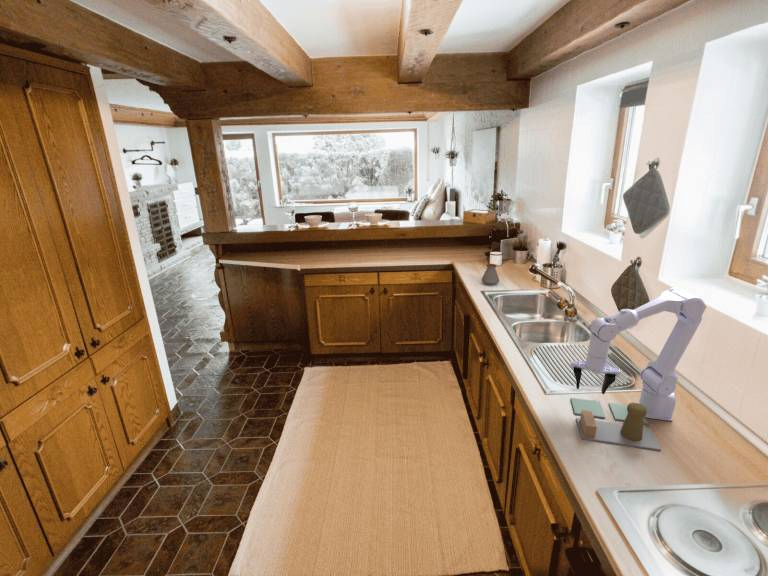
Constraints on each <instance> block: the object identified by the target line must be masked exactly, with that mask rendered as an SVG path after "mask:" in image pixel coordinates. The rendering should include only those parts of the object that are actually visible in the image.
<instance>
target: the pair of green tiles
mask: <svg viewBox="0 0 768 576" xmlns="http://www.w3.org/2000/svg"><path fill="white" fill-rule="evenodd" d="M570 401H571V405H572V410H573V412H574V413H573V414H574V415H576V416H581V412H582V410H586V411H592V414H593V417H594V418H597V419H606V418H607V417H606V414H605V412H604V409H603V407H602V403H601V401H600V400H599V401H598V400H590V399H584V398H575V397H571V398H570ZM608 405H609V408H610V411H611V413H612V416H613V418H614V421H618V422H619V421H620V422H624V421H625V419H626V416H627V414H628V412H627V406H628V405H629V404H622V403H614V402H608ZM643 425H648V422H647V418H646V417H643Z"/></svg>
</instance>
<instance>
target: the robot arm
mask: <svg viewBox="0 0 768 576" xmlns="http://www.w3.org/2000/svg"><path fill="white" fill-rule="evenodd" d="M706 309H707V305H706V304H705V301H704V300H703V299H702V298H701V297H698V296H696V295H693V294H691V293H689V292H687V291H685V290H683V289H682V288H680V287H671V288H669V289H667V290H665V291H663V292H662V293H661V295H660V296H658V297H656V298H654V299H652V300H650V301H649V302H646V303H644V304H642V305H641V306H638V307H636V308H634V309H629V308H623V309H620V310H619V311H618V312H616V313H613V314H611V315H607V316H605V317H597V318H595V319H593V320H592V321H591V323H590V324H588V330H589V332H590V340H589V344H588V349H587V354H586V355H587V356H586V360H585V361H583V360H570V362H569V367H570V369H573V370H572V371H573V375H574V378H575V381H576V385H575V386H576V389H577V390H579V389H580V383H581V378H582V370H583V371H588V372H591V373H592V374H595V375H600V374H604V376H603V377H604V378H603V382H602V385H601V394H602V395H605V394H606V391H607V390H608V389H609V388H610V386H611V385H612V384H613V383H614V382H616V378H620V375H621V369H620V368H616V367H612V366H610V365H608V364H607V361H608V355H609V350H610V345H611V342H612V341H613V340H614V339H616V337H617V335H619V334H620V333H621V332H623V331H626V330H628V329H631V328H633V327H635V326H637V325H638V323H639V321H640V320H642V319H646V318H648V317H651V316H655V315H658V314H661V313H663V312H667V313H673V314H675V316H676V318H677V321H676V323H675V325H674V326H673V328H672V330H671V332H670V334H669V336H668V338H667V340H666V342H665V343H664V345H663V347H662V349H661V351H660V353H659V354H658V356H657V359H656V360H651V361H648V363H647V365H645V367H644V368H643V369H641V371H640V373H639V377H640V379H641V381H642V382H641V384H642V388H641V391H640V397H639V401H638V402H636V401H634V402H633V403H639V404H641V405H643V406H644V407H645V408H646V410H647V414H646V416H645V419H654V420H662V421H668V422H670V421H673V415H674V410H675V407H676V400H677V399H676V395H675V391H676V388H677V381H678V380H679V377H678V374H677V372H676V367H677V366H678V364H679V362H680V360H681V359H682V357H683V355H684V353H685V351H686V350H687V347H688V346H689V344H690V343H691V341H692V340H693V339H692V338H693V337H694V335H695V333H696V332H697V330H698V327H699V326H700V324H701V322H702V320H703V319H702V318H703V314H704V312H706V311H705V310H706ZM606 364H607V365H606Z"/></svg>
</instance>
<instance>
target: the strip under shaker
mask: <svg viewBox="0 0 768 576" xmlns="http://www.w3.org/2000/svg"><path fill="white" fill-rule="evenodd" d="M575 421H576V425H577V427H578V432H579V435H580V439H581V440H585V441H586V440H587V441H591V442H597V443H598V442H599V443H605V444H612V445H618V446H625V447H632V448H638V449H645V450H651V451H658V452H661V451H662V449H661V446H660V444H659V442H658V441H657V438H656V437H655V434H654V433H653V430H652V429H651V427H646V426H643V434H642V440H640V441H631V440H629V439H626V438H625V437H623V436H622V435H621V433H620V431H621V428H622V426H623V423H617V422H611V421H609V422H608V421H602V420H597V419H596V420H595V417H593V414H592V411H586V410H582V412H581V415H580V417H576V418H575Z"/></svg>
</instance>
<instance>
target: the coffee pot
mask: <svg viewBox="0 0 768 576" xmlns="http://www.w3.org/2000/svg"><path fill="white" fill-rule="evenodd" d="M489 258H490V257H489V256H488V255H486V256H485V259H486V262H487V264H486V268H485V269H486V270H485V272H484V273H483V276H482V277H481V282H482V283H483V284H484V285H486V286H492V287H493V286H496V285H497V284H499V282H500V277H499V275H498V272H497V269H496V268H497V266H498V264H495V263H490V259H489Z"/></svg>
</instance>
